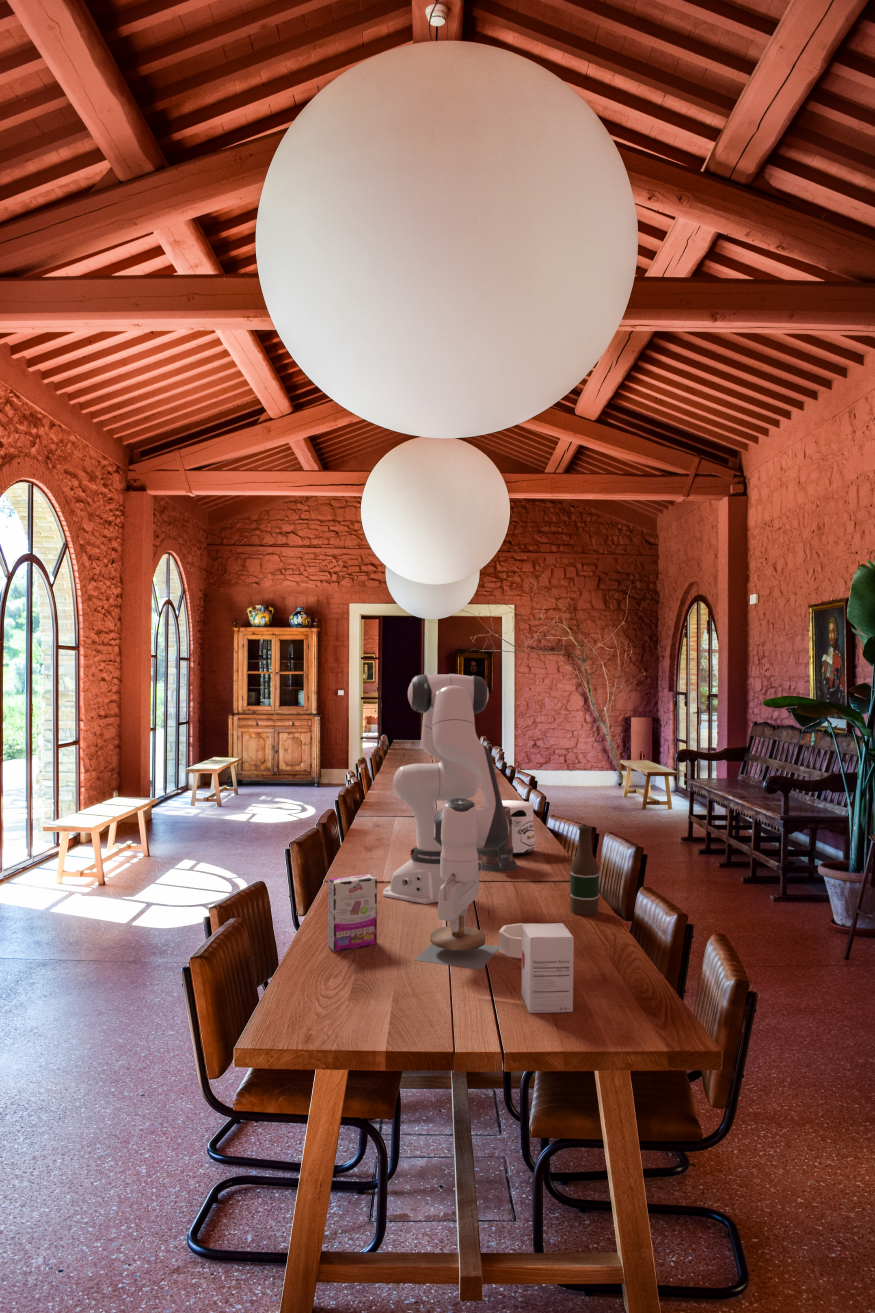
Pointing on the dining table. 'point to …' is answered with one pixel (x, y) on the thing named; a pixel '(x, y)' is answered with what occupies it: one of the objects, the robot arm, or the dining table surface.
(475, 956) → the mat
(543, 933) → the supplement box
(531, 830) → the milk container
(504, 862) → the tankard
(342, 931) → the candy bar box
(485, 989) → the dining table surface
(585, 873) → the beer bottle
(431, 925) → the dining table surface
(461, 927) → the lid
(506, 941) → the bowl
